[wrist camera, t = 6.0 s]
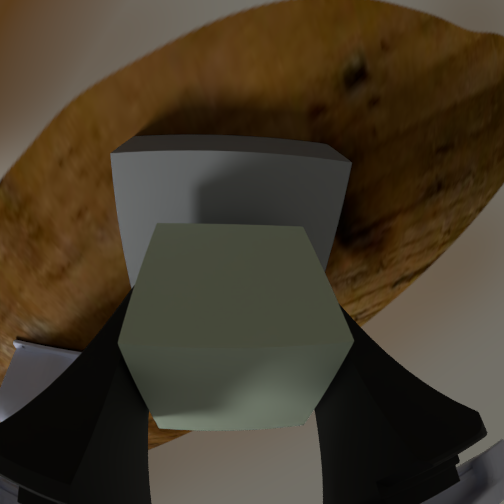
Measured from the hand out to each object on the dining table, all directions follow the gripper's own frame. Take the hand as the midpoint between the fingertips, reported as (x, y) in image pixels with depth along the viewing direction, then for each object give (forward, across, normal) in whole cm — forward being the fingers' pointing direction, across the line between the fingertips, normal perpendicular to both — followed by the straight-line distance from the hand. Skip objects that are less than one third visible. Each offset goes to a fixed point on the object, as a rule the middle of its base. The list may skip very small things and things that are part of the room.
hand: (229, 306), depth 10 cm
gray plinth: (+6, 0, 0) cm, 6 cm away
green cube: (+2, 0, 0) cm, 2 cm away
